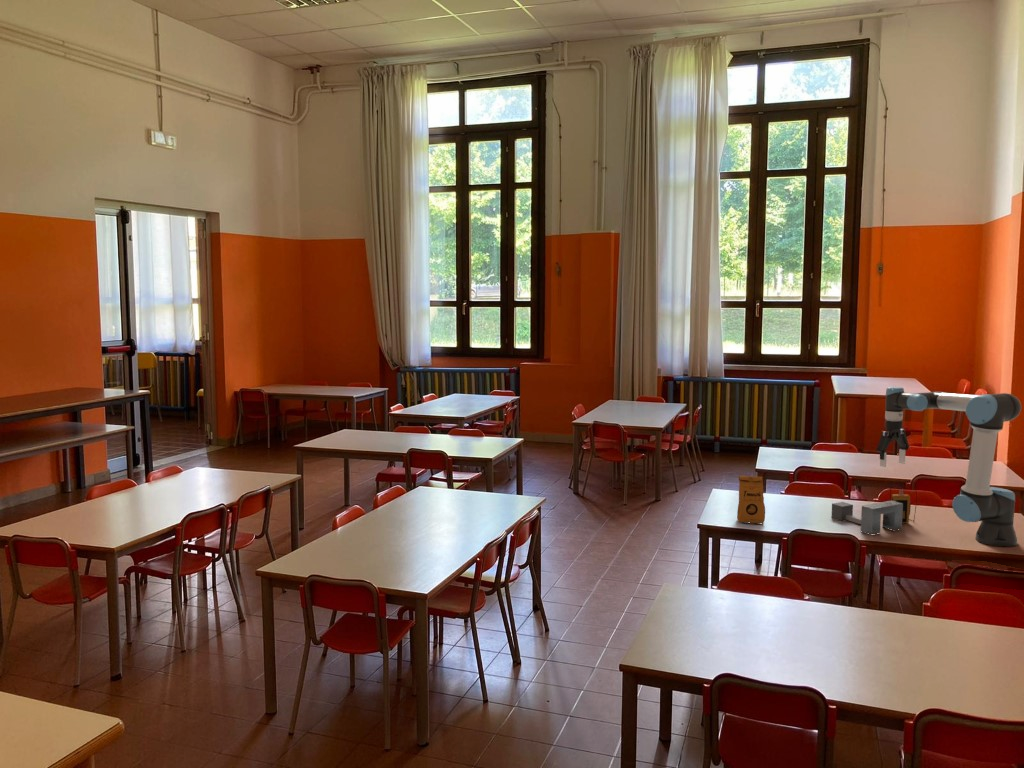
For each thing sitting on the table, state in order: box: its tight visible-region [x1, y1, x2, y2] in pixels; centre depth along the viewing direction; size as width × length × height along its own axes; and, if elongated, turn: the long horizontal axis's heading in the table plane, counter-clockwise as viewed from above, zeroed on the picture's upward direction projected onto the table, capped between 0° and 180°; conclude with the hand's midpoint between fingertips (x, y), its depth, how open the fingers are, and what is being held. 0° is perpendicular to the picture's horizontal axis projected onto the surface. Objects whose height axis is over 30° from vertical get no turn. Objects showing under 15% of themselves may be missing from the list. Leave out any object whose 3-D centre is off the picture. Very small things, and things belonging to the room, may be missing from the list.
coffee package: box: [736, 475, 766, 524], centre depth 371 cm, size 10×12×22 cm
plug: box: [830, 501, 861, 525], centre depth 371 cm, size 20×7×7 cm, turn 26°
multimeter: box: [889, 480, 918, 524], centre depth 372 cm, size 15×10×20 cm
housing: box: [860, 499, 903, 535], centre depth 357 cm, size 6×19×12 cm, turn 116°
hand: (892, 464), depth 376 cm, fingers open, 13 cm apart
